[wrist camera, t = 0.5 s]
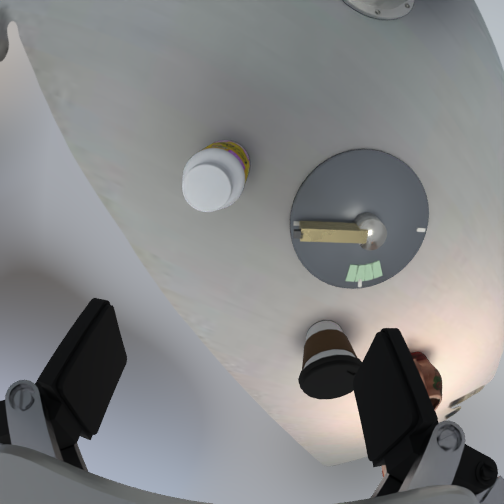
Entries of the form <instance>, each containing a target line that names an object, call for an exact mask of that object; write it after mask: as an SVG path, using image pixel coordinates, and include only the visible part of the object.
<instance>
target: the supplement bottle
mask: <svg viewBox="0 0 504 504" xmlns="http://www.w3.org/2000/svg"><path fill="white" fill-rule="evenodd" d="M249 169H250V160H249V156H248V154H247V152H246V150H245V149H244V148H243V147H242V146H241V145H239V144H238V143H236V142H233V141H229V140H221V141H217V142H214V143H212V144H211V145H209V146H207V147H206V148H204V149H202V150H201V151H199V152H198V153H196V154H195V155H193V156H192V157H191V158H190V159H189V161H188V162H187V164H186V166H185V168H184V171H183V176H182V181H183V184H182V191H183V195H184V197H185V199H186V201H187V202H188V203H189V205H190V206H192V207H193V208H195V209H197V210H199V211H202V212H213V211H216V210H218V209H223V208H226V207H228V206H230V205H232V204H233V203H234V202H235V201H236V200H237V199H238V198H239V197H240V195H241V193H242V191H243V189H244V186H245V182H246V179H247V176H248V173H249Z"/></svg>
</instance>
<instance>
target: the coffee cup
mask: <svg viewBox="0 0 504 504" xmlns="http://www.w3.org/2000/svg"><path fill="white" fill-rule="evenodd" d="M361 364H362V362H361V361H360V359H359V358H357V356H356V354H355V352H354V350H353V348H352V346H351V344H350V342H349V340H348V338H347V337H346V335H345V334H344V333H343V331H342V329H341V328H340V326H339V325H338V324H336V323H334V322H332V321H321V322H318V323H316V324H314V325H313V326H312V327H311V328H310V329H309V331H308V333H307V336H306V343H305V346H304V356H303V365H302V371H301V373H300V376H299V378H298V380H299V384H300V388H301V389H302V390H303V392H304V393H306V394H307V395H308V396H310V397H313V398H317V399H333V398H338V397H341V396H344V395H346V394H348V393H351V392H352V391H353V390H354V389H353V379H354V377H355V375H356V373H357V371H358V369H359V368H360V366H361Z"/></svg>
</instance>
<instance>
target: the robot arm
mask: <svg viewBox="0 0 504 504" xmlns="http://www.w3.org/2000/svg"><path fill="white" fill-rule="evenodd" d="M343 1H344V2H345V3H346V4H348V5H349V6H350V7H352V8H353V9H355V10H357V11H358V12H360V13H362V14H364V15H367V16H369V17H373V18H376V19H382V20H394V19H398V18H400V17H402V16H404V15H406V14H407V13H409V12H410V10H411V9H412V7H413V5H414V0H343ZM376 13H377V14H376ZM126 362H127V356H126V352H125V348H124V345H123V341H122V338H121V334H120V331H119V327H118V323H117V319H116V315H115V311H114V307H113V306H111V305H110V302H109V301H107V300H102V299H97V298H93V299H92V300H91V301H90V302H89V304H88V305H87V307H86V308H85V310H84V311H83V312H82V313H81V315H80V316H79V318H78V319H77V320H76V322H75V323H74V325H73V326H72V327H71V329H70V330H69V332H68V333H67V335H66V336H65V338H64V339H63V341H62V342H61V344H60V345H59V346H58V348H57V350H56V351H55V353H54V354H53V356H52V357H51V359H50V360H49V362H48V364H47V365H46V367H45V368H44V370H43V372H42V373H41V375H40V377H39V378H38V380H37V382H36V383H35V384H34V383H32V382H31V381H28V380H19V381H17V382H15V383H13V384H12V385H11V386H10V387H9V389H8V390H7V393H6V395H5V400H3V401H0V504H211V503H204V502H197V501H191V500H185V499H180V498H175V497H170V496H165V495H161V494H156V493H152V492H148V491H144V490H141V489H137V488H134V487H130V486H127V485H124V484H121V483H117V482H115V481H112V480H109V479H106V478H103V477H100V476H98V475H95V474H92V473H90V472H88V470H87V467H86V465H85V462H84V460H83V458H82V455H81V452H80V450H79V447H78V444H77V441H78V439H79V436H81V437H84V438H86V439H89V440H91V438H92V435H95V434H97V432H98V430H99V427H100V425H101V422H102V420H103V417H104V415H105V412H106V410H107V407H108V405H109V402H110V400H111V397H112V395H113V393H114V390H115V388H116V386H117V383H118V381H119V378H120V376H121V374H122V372H123V369H124V367H125V365H126ZM353 389H354V393H355V398H356V402H357V406H358V411H359V415H360V420H361V425H362V429H363V434H364V439H365V444H366V449H367V454H368V458H369V460H370V461H372V462H373V467H377V466H383V465H386V470H387V472H386V474H385V476H384V477H383V479H382V481H381V482H380V484H379V485H378V487H377V489H376V490H375V492H374V493H373V495H372V496H371V498H370V499H364V500H358V501H352V502H345V503H338V504H504V479H503V478H502V477H501V476H499V477H497V474H498V471H497V466H496V463H495V462H494V460H492V459H491V458H490V457H488V456H486V455H484V454H482V453H480V452H478V451H477V450H475V449H473V448H471V447H469V446H467V445H466V444H465V435H464V432H463V430H462V428H461V427H460V426H459V425H458V424H456V423H455V422H452V421H443V422H440V423H438V420H437V419H438V418H437V415H436V413H435V410H434V407H433V405H432V402H431V400H430V397H429V395H428V392H427V390H426V387H425V385H424V383H423V380H422V378H421V376H420V373H419V371H418V369H417V367H416V364H415V362H414V360H413V358H412V355H411V353H410V351H409V349H408V347H407V345H406V343H405V341H404V338H403V336H402V334H401V332H400V331H399V329H397V328H383V329H382V330H381V331H380V332H378V333H377V334H376V336H375V338H374V340H373V342H372V344H371V346H370V348H369V350H368V352H367V354H366V356H365V358H364V360H363V362H362V364H361V366H360V368H359V369H358V371H357V373H356V375H355V377H354V379H353Z"/></svg>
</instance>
